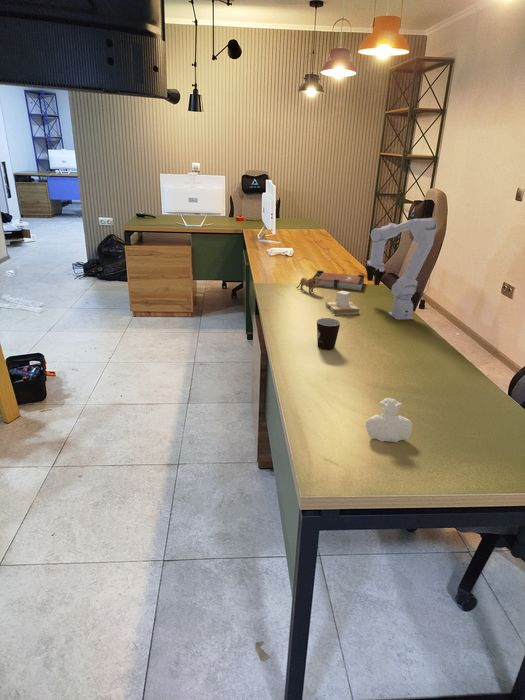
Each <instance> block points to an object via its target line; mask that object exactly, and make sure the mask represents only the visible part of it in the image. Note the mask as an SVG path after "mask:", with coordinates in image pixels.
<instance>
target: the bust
mask: <svg viewBox="0 0 525 700" xmlns="http://www.w3.org/2000/svg"><path fill="white" fill-rule="evenodd" d="M402 405H403V403H401V402H400V401H397V400H396V399H395V398H392V397H385V398H384V399H383V400H381V401H379V406H380V409H381V410H383V412H382V413H381V414H373V415H372V416H370V417H369V418H368V419H367V420H366V421H365V425H366V426H365V428H366V432H367V435H368V437H369V438H371V439H374V440H378V441H380V442H390V443H391V442H392V443H397V442H399V441H404V440H407V439H408V438H409V437H410V435H411V434H412V431H413V422H412V421H411V420H410V419H408V418H407V417H404V416H402V415H397V414H396V413H398V412H399V409H401V406H402Z"/></svg>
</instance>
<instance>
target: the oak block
mask: <svg viewBox="0 0 525 700" xmlns="http://www.w3.org/2000/svg"><path fill="white" fill-rule="evenodd" d="M325 306H326V307H327V308H328V309H329V310H330V311H331V312H332V313H333V314H341V315H342V314H347V315H359V314H360V310H361V309H360V308H359V307H358V306H357V305H355V304H354V303H353V302H352V301H350V300H349V305H348V306H346V307H341V306H337V305H336V300H335V301H325V305H324V307H325ZM326 307H325V308H326ZM327 308H326V309H327ZM328 309H327V310H328ZM330 311H329V312H330ZM331 312H330V313H331ZM332 313H331V314H332ZM333 314H332V315H333ZM341 315H340V316H341ZM342 316H343V315H342Z"/></svg>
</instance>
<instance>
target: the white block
mask: <svg viewBox="0 0 525 700" xmlns="http://www.w3.org/2000/svg"><path fill="white" fill-rule="evenodd" d="M350 298H351V292H349V291H345V290H341V291H337V292H336V300H335V301H336V305H337V306H341V307H346V306H348V305H349V301H350Z"/></svg>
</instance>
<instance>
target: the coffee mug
mask: <svg viewBox="0 0 525 700" xmlns="http://www.w3.org/2000/svg"><path fill="white" fill-rule="evenodd" d="M340 326H341V321H339V320H338V319H336V318H331V317H321V318H318V319H317V320H316V336H317V337H316V339H317V348H318V347H319V348H318V349H320V350H324V351H333V350H335V347H336V343H337V339H338V335H339V331H340Z"/></svg>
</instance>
